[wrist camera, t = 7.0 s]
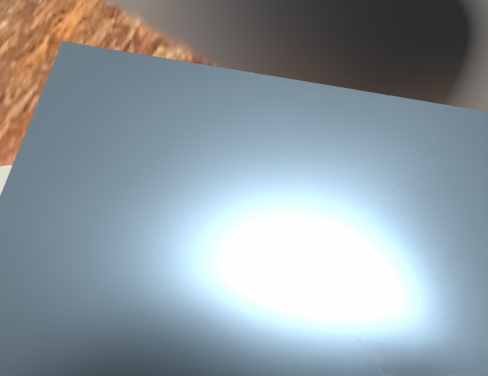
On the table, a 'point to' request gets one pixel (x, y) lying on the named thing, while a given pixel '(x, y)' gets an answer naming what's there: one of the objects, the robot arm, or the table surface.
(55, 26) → the table surface
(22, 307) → the slate-blue block
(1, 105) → the table surface
